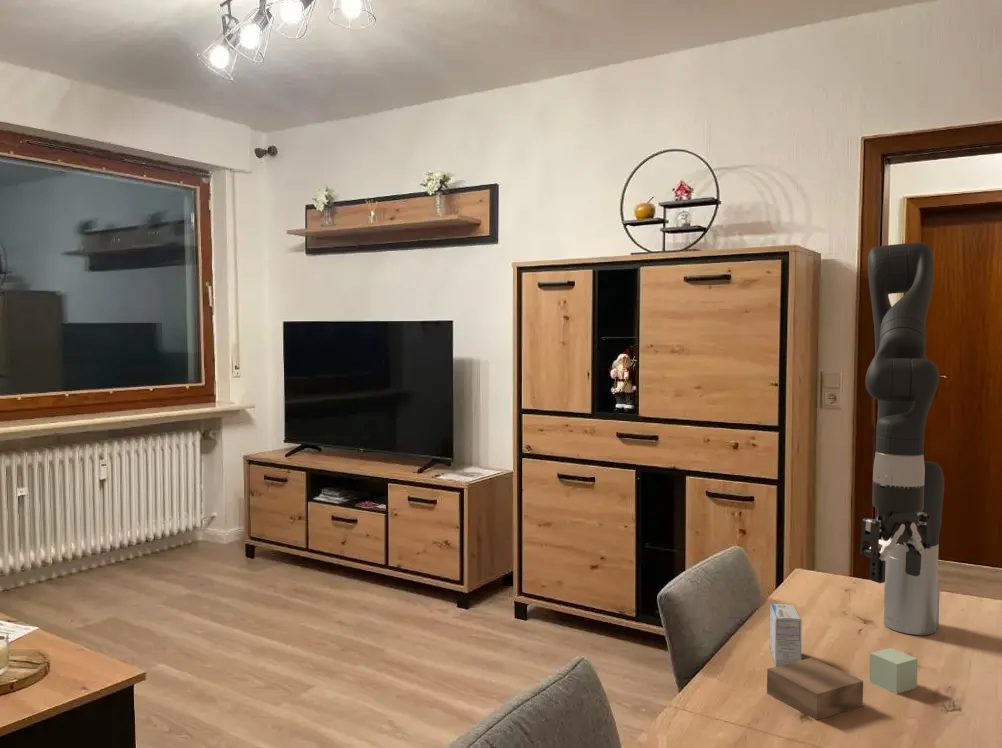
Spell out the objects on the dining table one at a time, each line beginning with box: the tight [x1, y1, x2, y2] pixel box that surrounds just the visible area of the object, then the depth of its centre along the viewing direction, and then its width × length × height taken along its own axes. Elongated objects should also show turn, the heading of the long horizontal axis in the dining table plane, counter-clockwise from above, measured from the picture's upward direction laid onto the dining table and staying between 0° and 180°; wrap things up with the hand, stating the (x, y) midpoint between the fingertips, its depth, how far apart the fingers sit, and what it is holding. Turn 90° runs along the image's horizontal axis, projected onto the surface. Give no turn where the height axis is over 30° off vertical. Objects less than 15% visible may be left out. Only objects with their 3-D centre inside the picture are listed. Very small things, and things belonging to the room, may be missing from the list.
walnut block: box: [766, 657, 864, 721], centre depth 126 cm, size 10×10×4 cm
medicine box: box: [769, 603, 803, 667], centre depth 142 cm, size 8×4×9 cm, turn 168°
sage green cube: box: [869, 647, 919, 695], centre depth 132 cm, size 5×5×5 cm
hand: (895, 578), depth 131 cm, fingers open, 8 cm apart
